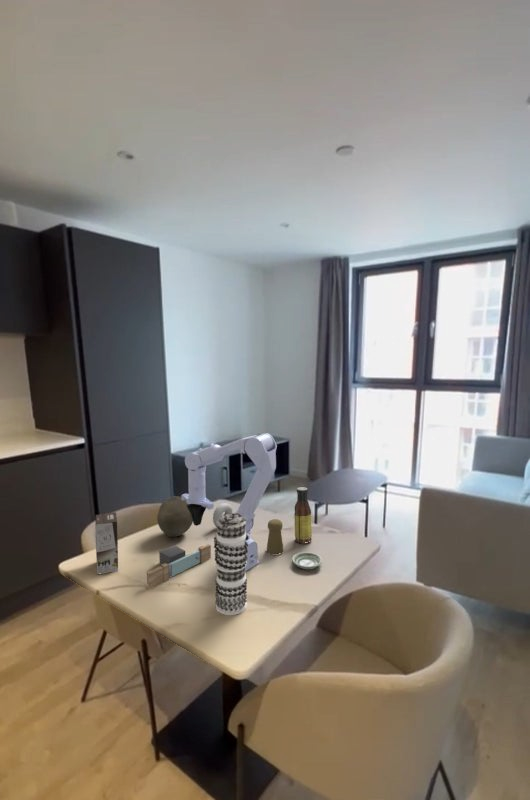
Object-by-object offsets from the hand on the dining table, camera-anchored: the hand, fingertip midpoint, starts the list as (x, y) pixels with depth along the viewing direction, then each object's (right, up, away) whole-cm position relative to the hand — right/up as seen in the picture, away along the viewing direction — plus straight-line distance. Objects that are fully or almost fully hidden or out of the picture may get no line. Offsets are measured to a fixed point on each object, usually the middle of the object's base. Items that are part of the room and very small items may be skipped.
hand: (197, 524), depth 133 cm
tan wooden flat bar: (-2, -11, -11) cm, 16 cm away
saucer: (+37, -11, -8) cm, 39 cm away
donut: (+7, -8, +21) cm, 24 cm away
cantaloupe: (-10, -9, +13) cm, 19 cm away
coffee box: (-27, -11, -9) cm, 31 cm away
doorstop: (-7, -11, -6) cm, 14 cm away
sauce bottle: (+38, -10, +10) cm, 40 cm away
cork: (+27, -10, +2) cm, 29 cm away
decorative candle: (+14, -13, -29) cm, 35 cm away
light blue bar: (-2, -11, -12) cm, 16 cm away
